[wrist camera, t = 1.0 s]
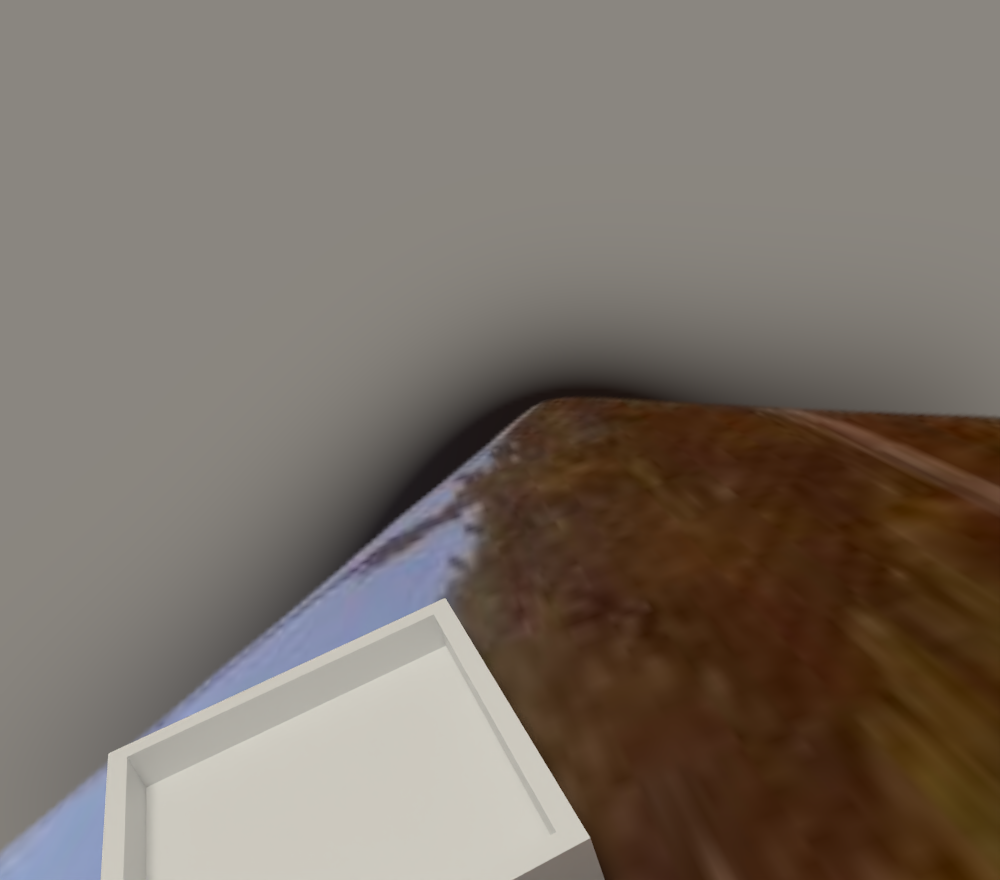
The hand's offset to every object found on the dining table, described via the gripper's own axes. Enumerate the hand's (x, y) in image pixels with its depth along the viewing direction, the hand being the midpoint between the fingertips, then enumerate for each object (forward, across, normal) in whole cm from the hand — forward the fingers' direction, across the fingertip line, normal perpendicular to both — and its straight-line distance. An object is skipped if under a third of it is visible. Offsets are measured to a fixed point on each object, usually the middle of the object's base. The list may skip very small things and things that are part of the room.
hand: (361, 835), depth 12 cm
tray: (+25, -5, -22) cm, 34 cm away
